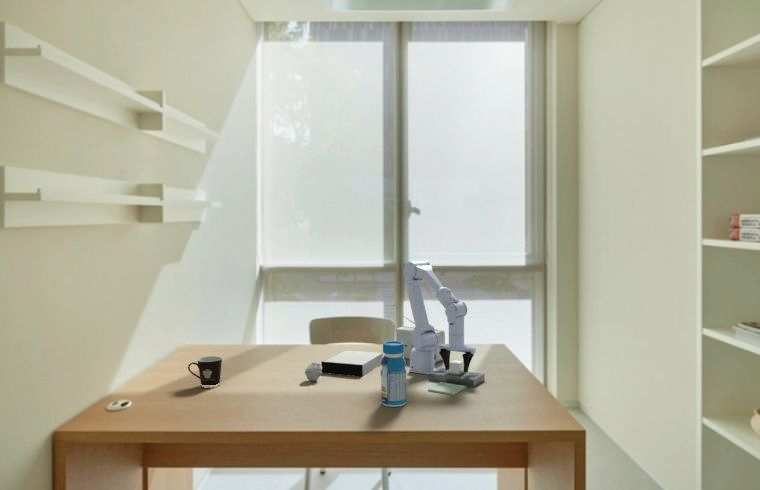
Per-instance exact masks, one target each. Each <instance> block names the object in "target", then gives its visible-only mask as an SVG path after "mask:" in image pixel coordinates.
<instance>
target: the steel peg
mask: <svg viewBox="0 0 760 490" xmlns="http://www.w3.org/2000/svg"><path fill="white" fill-rule="evenodd" d="M449 375H454V376H462V375H464V361H463V360H455V359H454V360H450V362H449Z"/></svg>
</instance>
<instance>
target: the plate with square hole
mask: <svg viewBox="0 0 760 490" xmlns="http://www.w3.org/2000/svg"><path fill="white" fill-rule="evenodd" d="M436 369H437V370H435V371H433V372H431V373H429V375H428V381H432V382H438V383H440V382H443V383H449V384H455V385H461V386H466V387H468V388H475V387H476V386H478V385H480V384H481V383H483V382H484V381H485V373H479V372H473V371H468V372H466V373H465V372H464V375H462V376H454V375H449V369H448V370H445V367H440V368H436Z"/></svg>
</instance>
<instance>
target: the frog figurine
mask: <svg viewBox="0 0 760 490" xmlns="http://www.w3.org/2000/svg"><path fill="white" fill-rule="evenodd" d="M321 374H322V365H321V364H320V362H317V361H313V362H311V364H309V365H308V366H307V367H306V368H305V371H304V375H305V376H306V378H307V380H308V381H311V382H315V381H317V380H319V378H320V377H321Z"/></svg>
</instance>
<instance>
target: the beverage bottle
mask: <svg viewBox="0 0 760 490" xmlns="http://www.w3.org/2000/svg"><path fill="white" fill-rule="evenodd" d="M382 352H383V354H384V355H383V359H382V361H381V365H380V366H381V369H380V378H381V379H380V383H381V385H380V386H381V388H380V389H381V394H380V395H381V397H380V398H381V399H380V401H381V404H382V405H383V406H385V407H389V408H398V407H403V406H405V405H406V404H407V369H406V365H407V362H406V358H404V357H403V356H402V354H403V352H404V345H403V343H402V342H398V341H397V340H389V341H385V342H383V343H382Z"/></svg>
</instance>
